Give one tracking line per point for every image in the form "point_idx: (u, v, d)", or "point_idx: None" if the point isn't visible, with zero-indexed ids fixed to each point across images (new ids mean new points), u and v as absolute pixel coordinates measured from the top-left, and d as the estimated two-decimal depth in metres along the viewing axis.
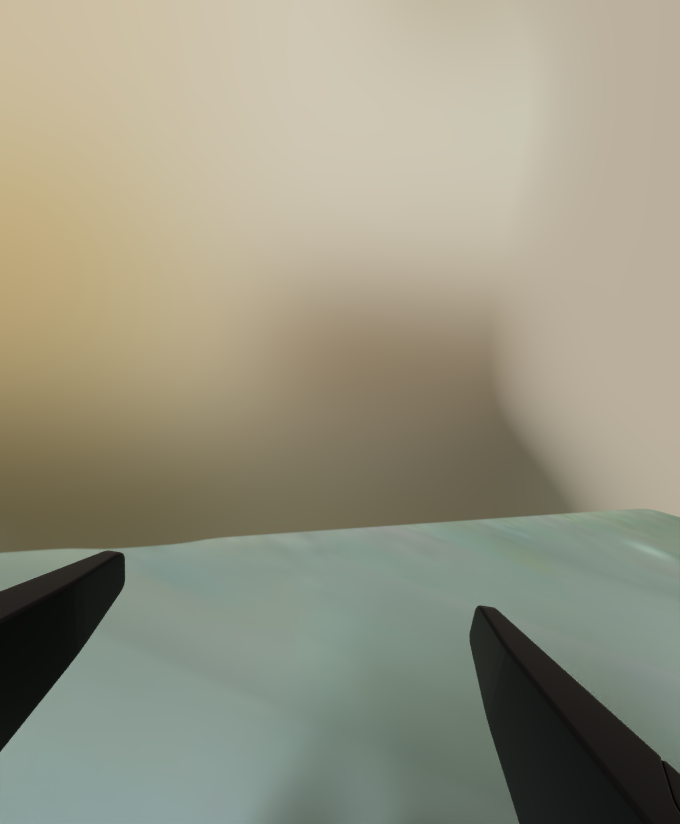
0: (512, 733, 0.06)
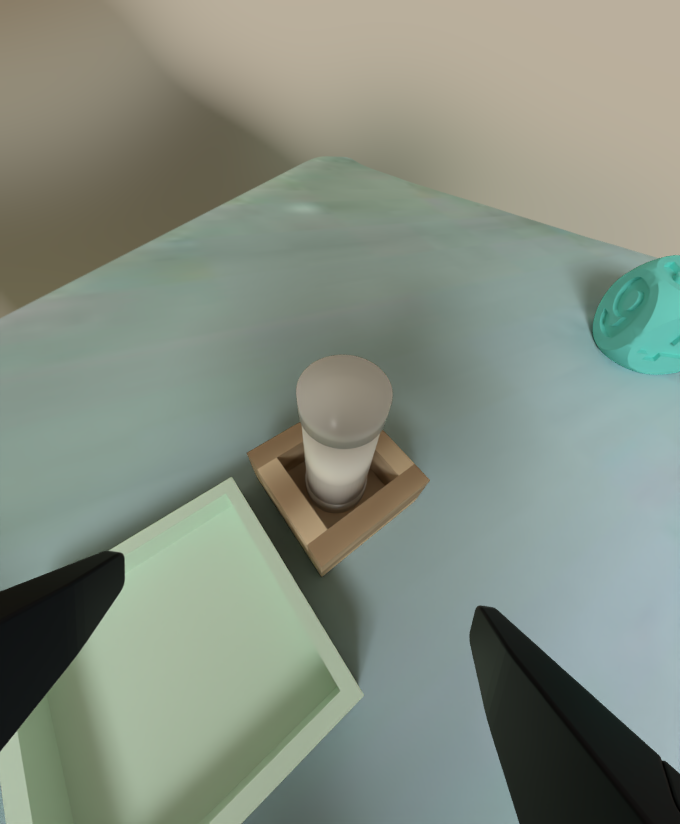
0: (512, 733, 0.06)
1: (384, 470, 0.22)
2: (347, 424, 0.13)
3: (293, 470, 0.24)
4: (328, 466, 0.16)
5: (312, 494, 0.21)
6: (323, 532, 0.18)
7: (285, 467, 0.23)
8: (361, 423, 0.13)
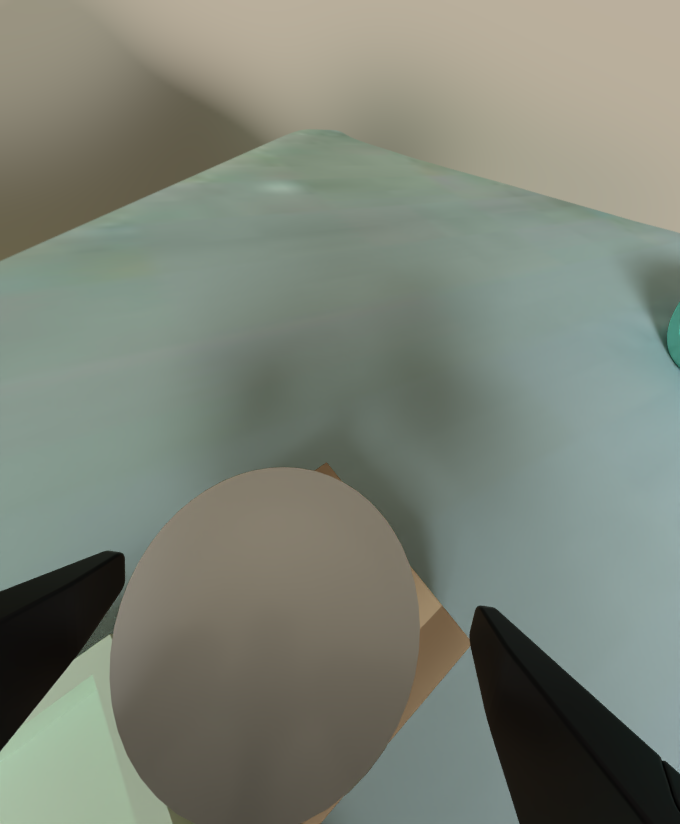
0: (512, 733, 0.06)
1: None
2: (265, 786, 0.04)
3: None
4: None
5: None
6: None
7: None
8: (315, 779, 0.04)
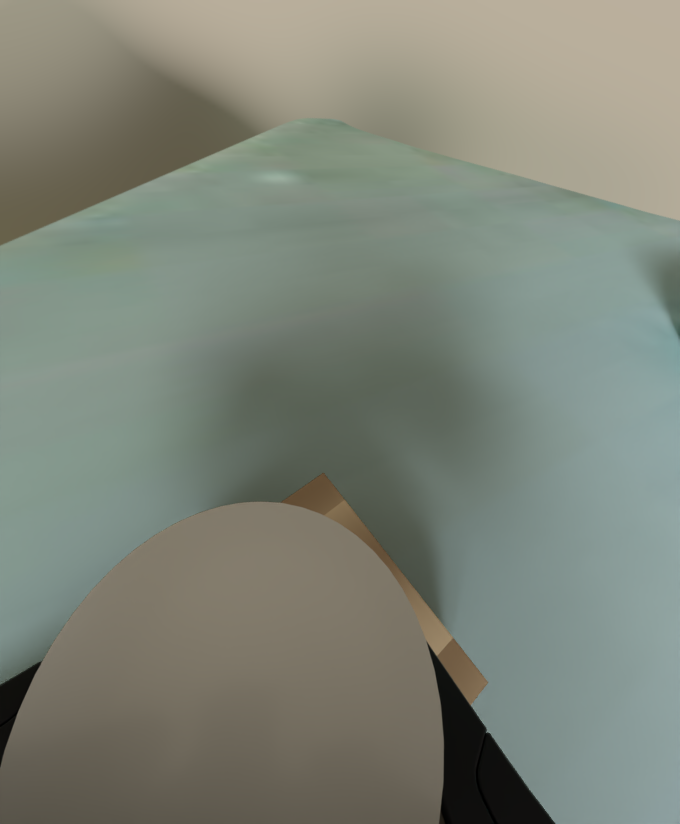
0: None
1: None
2: None
3: None
4: None
5: None
6: None
7: None
8: None
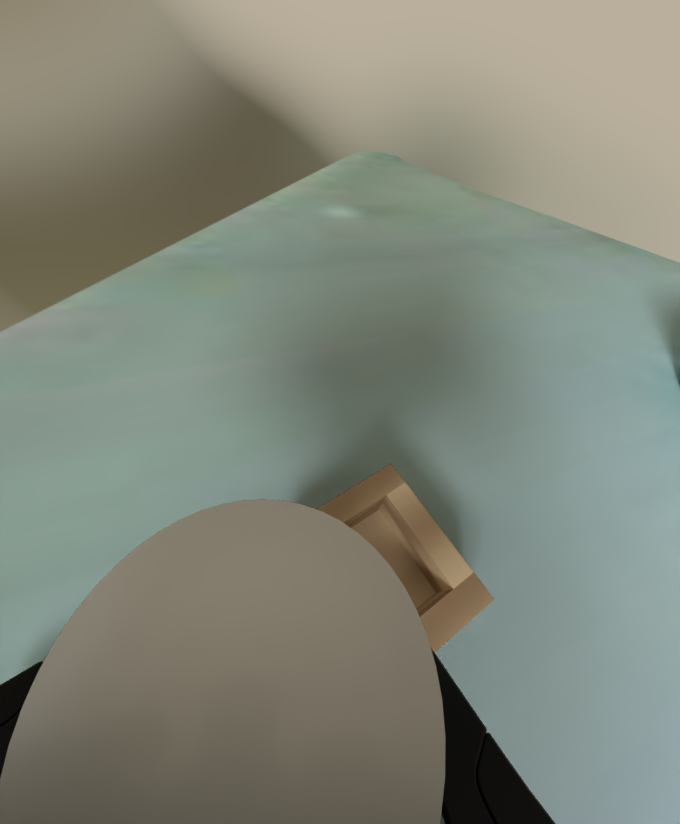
0: None
1: (432, 571, 0.18)
2: None
3: None
4: None
5: None
6: None
7: None
8: None
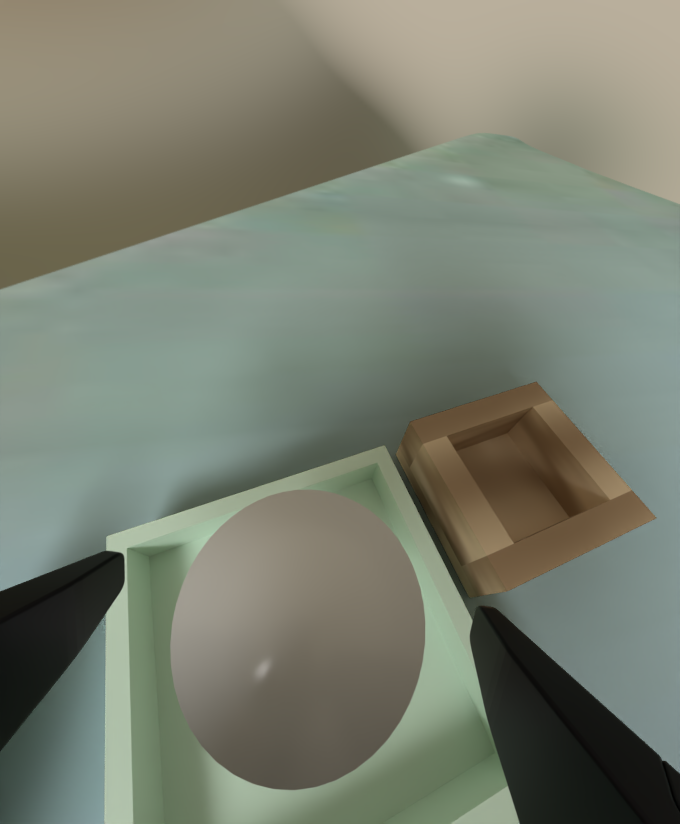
0: (512, 733, 0.06)
1: (577, 488, 0.17)
2: (304, 752, 0.04)
3: None
4: None
5: None
6: (508, 545, 0.14)
7: None
8: (345, 745, 0.04)
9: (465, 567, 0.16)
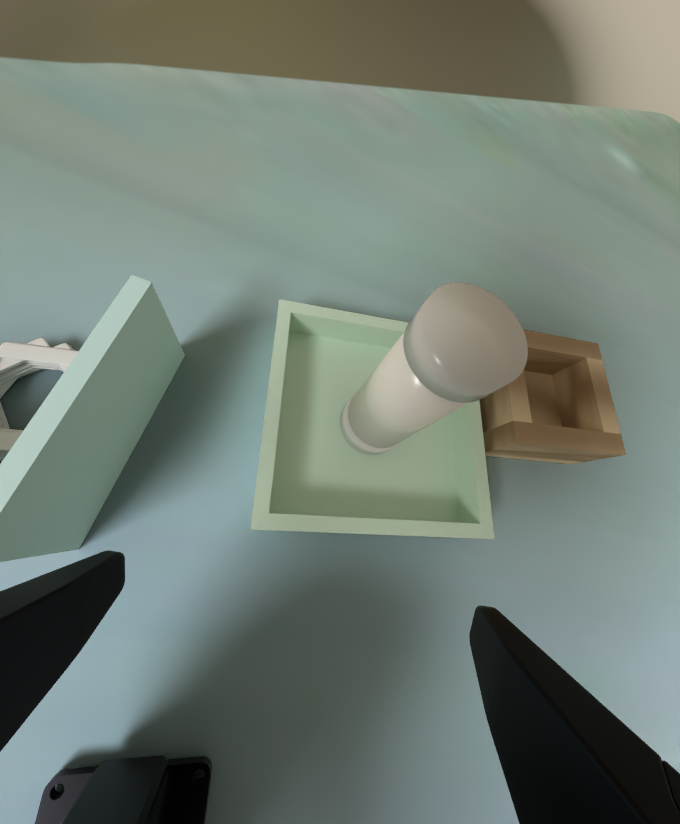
0: (512, 733, 0.06)
1: (583, 421, 0.23)
2: (469, 373, 0.11)
3: None
4: (401, 406, 0.14)
5: (348, 424, 0.19)
6: (528, 422, 0.20)
7: None
8: (485, 378, 0.11)
9: (486, 432, 0.23)
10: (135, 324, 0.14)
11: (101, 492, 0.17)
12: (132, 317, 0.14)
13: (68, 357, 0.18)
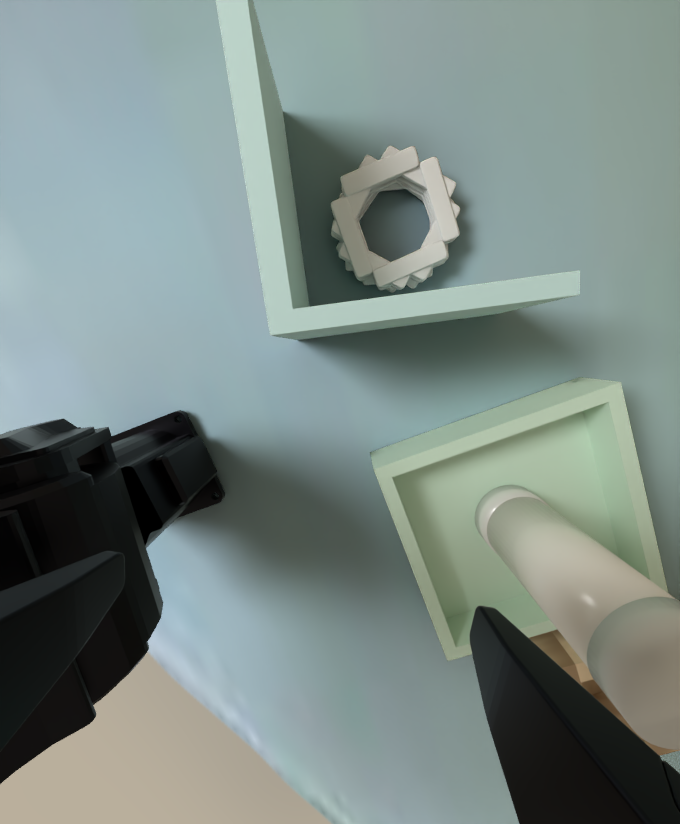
0: (512, 733, 0.06)
1: None
2: (634, 699, 0.10)
3: None
4: (551, 590, 0.13)
5: (498, 504, 0.19)
6: (579, 678, 0.19)
7: None
8: (635, 715, 0.10)
9: None
10: (520, 303, 0.13)
11: (343, 333, 0.19)
12: (527, 301, 0.13)
13: (447, 223, 0.17)
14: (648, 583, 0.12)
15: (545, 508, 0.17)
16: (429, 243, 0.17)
